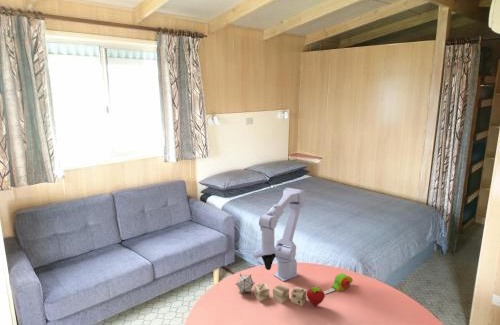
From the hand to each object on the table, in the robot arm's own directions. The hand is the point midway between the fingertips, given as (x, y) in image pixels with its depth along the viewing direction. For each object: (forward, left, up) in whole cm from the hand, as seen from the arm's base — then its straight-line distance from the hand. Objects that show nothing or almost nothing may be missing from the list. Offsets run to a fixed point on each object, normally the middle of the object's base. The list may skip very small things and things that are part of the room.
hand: (268, 269), depth 156 cm
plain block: (0, +9, -11) cm, 14 cm away
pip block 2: (-5, +15, -11) cm, 19 cm away
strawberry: (-8, +22, -11) cm, 26 cm away
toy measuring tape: (-25, +18, -11) cm, 33 cm away
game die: (+9, -5, -11) cm, 15 cm away
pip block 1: (+6, +3, -11) cm, 12 cm away
